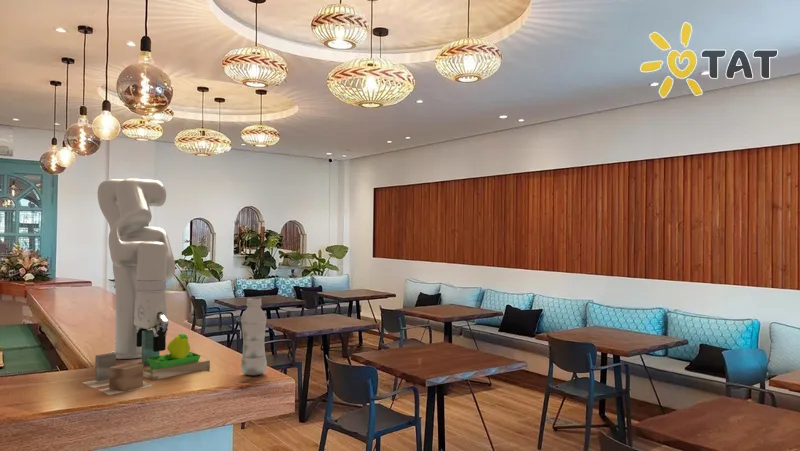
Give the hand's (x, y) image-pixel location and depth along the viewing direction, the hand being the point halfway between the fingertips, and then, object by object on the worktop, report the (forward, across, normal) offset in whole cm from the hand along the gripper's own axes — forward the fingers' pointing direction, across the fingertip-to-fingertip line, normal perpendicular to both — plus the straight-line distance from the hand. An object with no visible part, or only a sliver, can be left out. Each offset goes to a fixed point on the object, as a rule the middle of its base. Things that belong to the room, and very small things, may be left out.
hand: (150, 348), depth 151 cm
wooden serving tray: (+5, +8, 0) cm, 10 cm away
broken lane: (+5, +15, -15) cm, 22 cm away
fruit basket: (+6, +14, 0) cm, 15 cm away
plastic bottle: (+5, +28, +14) cm, 32 cm away
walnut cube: (+4, +20, -15) cm, 25 cm away
